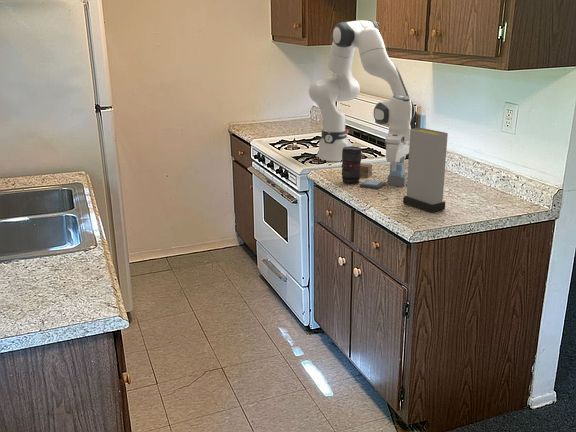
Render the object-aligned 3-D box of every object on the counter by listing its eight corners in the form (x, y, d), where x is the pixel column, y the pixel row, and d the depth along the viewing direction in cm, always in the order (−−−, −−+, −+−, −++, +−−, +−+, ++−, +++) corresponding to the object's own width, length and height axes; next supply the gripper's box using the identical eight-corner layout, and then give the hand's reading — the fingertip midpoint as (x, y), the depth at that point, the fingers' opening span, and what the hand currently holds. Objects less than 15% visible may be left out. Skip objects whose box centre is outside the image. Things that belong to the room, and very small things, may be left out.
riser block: (390, 181, 254) (390, 172, 253) (406, 182, 252) (407, 173, 251) (387, 185, 248) (387, 176, 247) (404, 187, 246) (404, 177, 245)
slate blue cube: (393, 172, 252) (394, 161, 250) (404, 174, 250) (405, 162, 248) (389, 175, 248) (390, 164, 246) (401, 177, 246) (401, 165, 244)
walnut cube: (361, 174, 266) (361, 163, 264) (371, 175, 264) (372, 164, 262) (357, 176, 262) (357, 165, 260) (367, 177, 260) (368, 166, 258)
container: (417, 206, 228) (411, 127, 222) (454, 210, 212) (449, 126, 207) (402, 209, 224) (397, 129, 219) (440, 214, 208) (434, 128, 203)
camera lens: (359, 185, 248) (360, 150, 243) (340, 184, 249) (341, 149, 245) (361, 180, 255) (362, 146, 251) (342, 179, 257) (343, 145, 252)
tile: (366, 182, 252) (367, 179, 252) (384, 184, 248) (384, 181, 248) (359, 187, 245) (359, 183, 245) (378, 189, 242) (378, 185, 241)
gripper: (400, 130, 254) (398, 162, 258) (383, 139, 237) (382, 172, 241) (414, 131, 251) (412, 163, 255) (399, 140, 234) (397, 174, 238)
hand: (397, 168), depth 248 cm, fingers open, 8 cm apart
